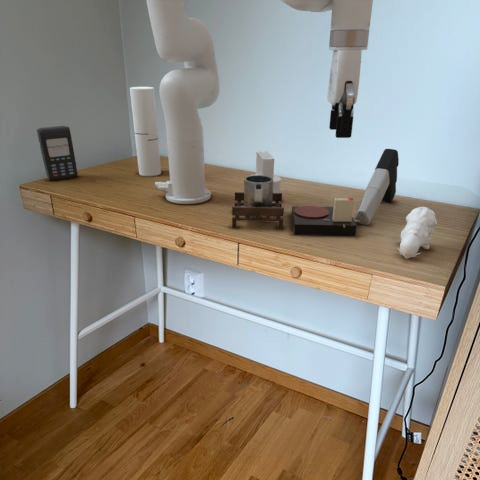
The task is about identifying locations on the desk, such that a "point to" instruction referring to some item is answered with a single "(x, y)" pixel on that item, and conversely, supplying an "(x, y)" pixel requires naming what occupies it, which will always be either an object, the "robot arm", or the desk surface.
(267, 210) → the drying rack
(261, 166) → the base with upright slab
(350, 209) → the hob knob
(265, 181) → the steel pot
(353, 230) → the hob
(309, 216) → the hot plate
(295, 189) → the desk surface
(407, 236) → the white animal figurine
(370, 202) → the handheld device
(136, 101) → the cylindrical container
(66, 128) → the card reader
